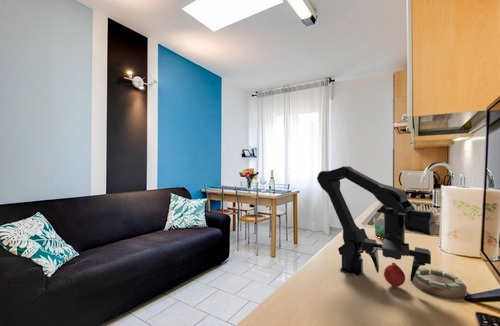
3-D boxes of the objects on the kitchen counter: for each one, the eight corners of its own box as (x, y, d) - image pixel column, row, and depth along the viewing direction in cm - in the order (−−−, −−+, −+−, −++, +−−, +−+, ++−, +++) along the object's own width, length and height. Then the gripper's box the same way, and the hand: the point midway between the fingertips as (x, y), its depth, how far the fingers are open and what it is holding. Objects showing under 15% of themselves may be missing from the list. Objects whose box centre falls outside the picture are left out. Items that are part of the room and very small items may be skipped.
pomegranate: (385, 280, 79) (385, 257, 79) (406, 286, 75) (406, 261, 75) (382, 287, 74) (382, 262, 74) (403, 294, 71) (403, 268, 71)
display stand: (409, 288, 74) (409, 278, 74) (411, 272, 85) (411, 263, 85) (469, 304, 66) (469, 293, 66) (463, 284, 77) (463, 274, 77)
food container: (367, 234, 130) (367, 216, 130) (376, 233, 131) (376, 216, 131) (386, 242, 118) (386, 222, 118) (396, 240, 120) (396, 221, 120)
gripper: (357, 228, 74) (357, 277, 74) (431, 240, 63) (431, 298, 63) (364, 221, 83) (364, 265, 83) (430, 231, 72) (430, 281, 72)
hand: (394, 276), depth 75 cm, fingers open, 9 cm apart
